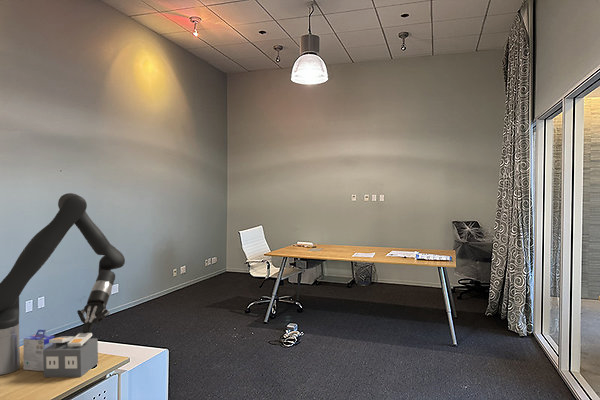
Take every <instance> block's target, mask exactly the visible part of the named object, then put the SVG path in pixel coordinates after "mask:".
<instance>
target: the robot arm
mask: <svg viewBox="0 0 600 400" xmlns="http://www.w3.org/2000/svg"><path fill="white" fill-rule="evenodd" d="M87 206H88V205H87V201H86V199H85V198H84V197H83V196H80V195H79V194H76V193H74V192H73V193H72V192H69V193H65V194H63V195H61V196H60V198H59V199H58V201H57V207H58V212H57V213H56V214H55V216H54V217H53V219H52V220H51V221H50V222H49V223H47V225H46V226H44V227H43V228H42V229H40V230H39V231H38V232H37V233H36V234H35V235H34V236H33V237H32V238H31V239H30V240H29V241H28V243H27V244H26V246H25V247H24V248H23V250H22V251H21V253H20V254H19V255H18V257H17V259H16V260H15V263H13V264H14V265H13V266H12V267H11V270H10V271H9V272H8V273H7V275H6V276H5V277H4V278H3V279H2V280H1V282H0V375H1V376H2V375H7V374H10V373H13V372H15V371H17V370H19V369H20V368H21V356H20V355H21V353H20V352H21V350H20V349H21V348H20V345H21V344H20V295H21V294H22V292H23V290H24V289H25V287H26V286H27V284H28V283H29V282H30V280H31V279H32V278H33V277H34V275H36V274H37V273H38V272H39V270H40V269H41V268H42V267H43V266H44V265H45V264H46V262H47V261H48V260H49V258H50V257H51V256H52V254H53V253H54V252H55V250H56V249H57V248H58V246H59V244H61V242H62V241H63V239H64V238H65V236H66V235H67V233H68V232H69V231H70V229H71V228H72V227H73V226H74V225H75V226H76V227H77V229H78V230H79V231H80V233H81V234H82V236H83V238H84V239H85V240H86V242H87V244H89V246H90V248H92V250H93V252H94V253H95V255H97V256H102V257H101V258H100V260H99V262H98V275H97V278H96V280H95V282H94V284H93V286H92V288H91V291H90V293H89V296H88V298H87V301H86V305H85V306H84V307H83V309H81V310H80V309H78V310H77V311H76V312H77V313H76V314H77V315H78V317H79V320H80V321H81V322H82V324H83V327H82V333H92V329H93V327H94V325H95V324H99V323H101V322H102V321H103V320H104V319H105V318H107V317H108V316H109V315H110V312H109V310H108V309H107V304H108V302H109V298H110V296H111V294H112V289H113V286H114V282H115V280H116V274H115V272H114V271H112V270H117V269H121V268H123V267H124V265H125V263H126V261H125V259H126V258H125V256H124V255H123V253H122V252H121V251H120V250H119V249H117V248H116V247H115V246H114V245H112V244H111V243H110V241H109V240H108V239H107V237H106V236H105V234H104V233H103V232H102V230H101V229H100V228H99V227H98V226H97V225H96V223H95V222H94V221H93V220H92V219H91V217H90V216H89V215H88V213H87V212H86V210H87V208H88V207H87Z"/></svg>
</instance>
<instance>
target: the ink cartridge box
mask: <svg viewBox="0 0 600 400" xmlns="http://www.w3.org/2000/svg"><path fill="white" fill-rule="evenodd" d="M46 331H47V330H46V329H38V330H37V332H36V333H35V334H32V335H30V336H27V337H25V338H23V340H22V342H23V344H22V345H23V348H22V349H23V355H22V356H23V361H22V362H23V363H22V364H23V366H22V367H23V370H25V371H27V370H28V371H36V372H37V371H38V372H44V365H43V350H45V349H46V348H48V347H50V346H51V345H53V344H55V343H49V340H50V339H54V338H55V335H47V334H46ZM41 332H42V333H41Z"/></svg>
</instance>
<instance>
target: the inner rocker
mask: <svg viewBox="0 0 600 400" xmlns="http://www.w3.org/2000/svg"><path fill="white" fill-rule="evenodd" d="M75 336H76V335H73V336H72V335H71V336H70V335H68V336H66V335H64V336H59V337H54V339H50V340H49V343H54V344H55V343H64V342H67V341H71V340H72V339H73V338H74V337H75Z"/></svg>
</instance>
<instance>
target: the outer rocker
mask: <svg viewBox="0 0 600 400" xmlns="http://www.w3.org/2000/svg"><path fill="white" fill-rule="evenodd" d="M74 336H75V337H74V338H73V339H72V340H71V341H70V342H69V343H68V346H82V345H83V344H84V343H85V342H86V341H87V340H88V339H89V338H91V337H92V336H93V333H92V332H89V333H83V332H78V333H77V334H76V335H74Z"/></svg>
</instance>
